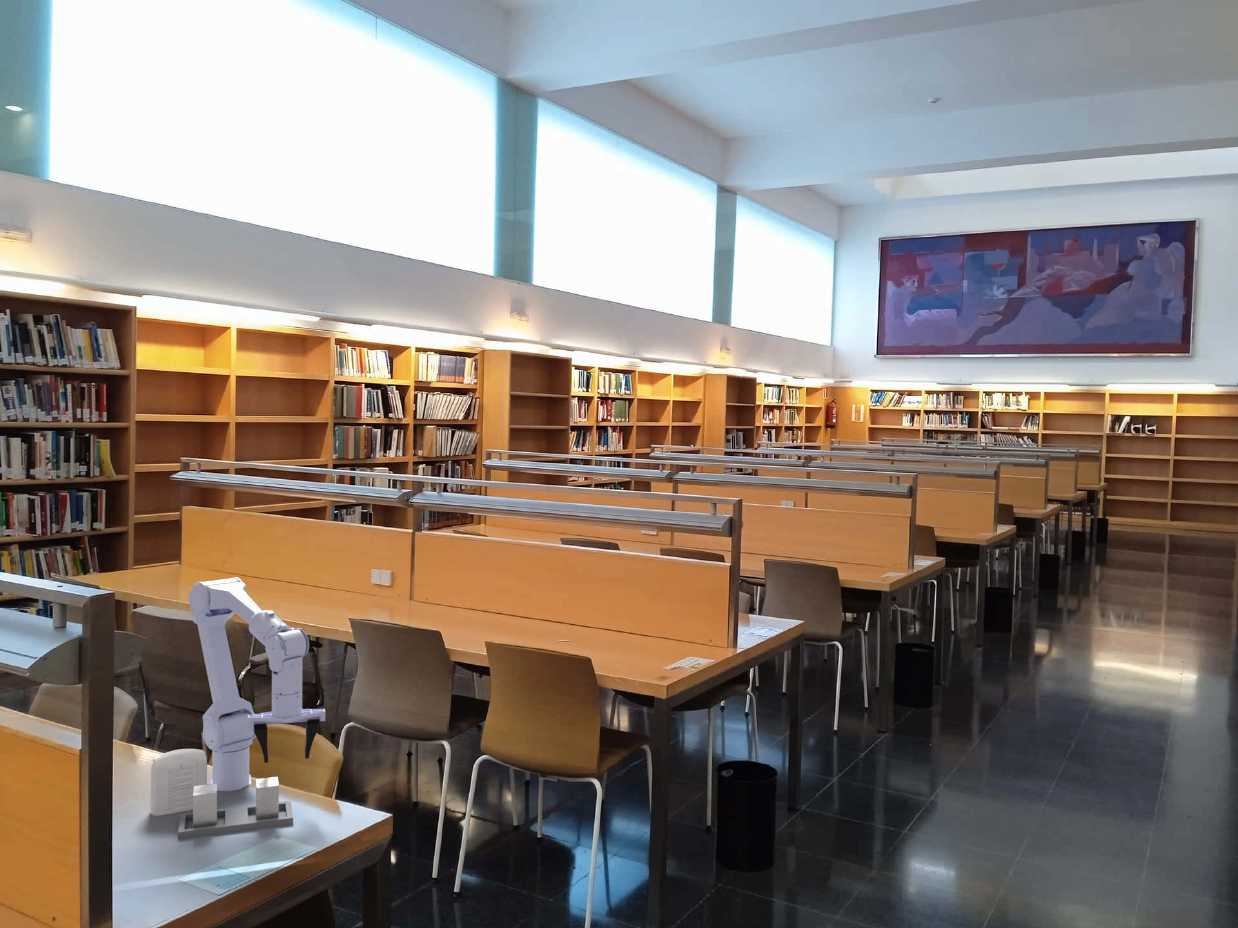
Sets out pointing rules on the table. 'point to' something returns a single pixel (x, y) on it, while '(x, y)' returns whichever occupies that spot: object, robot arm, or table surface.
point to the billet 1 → (205, 806)
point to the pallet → (235, 821)
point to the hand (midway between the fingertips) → (286, 758)
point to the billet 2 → (267, 798)
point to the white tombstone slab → (176, 780)
